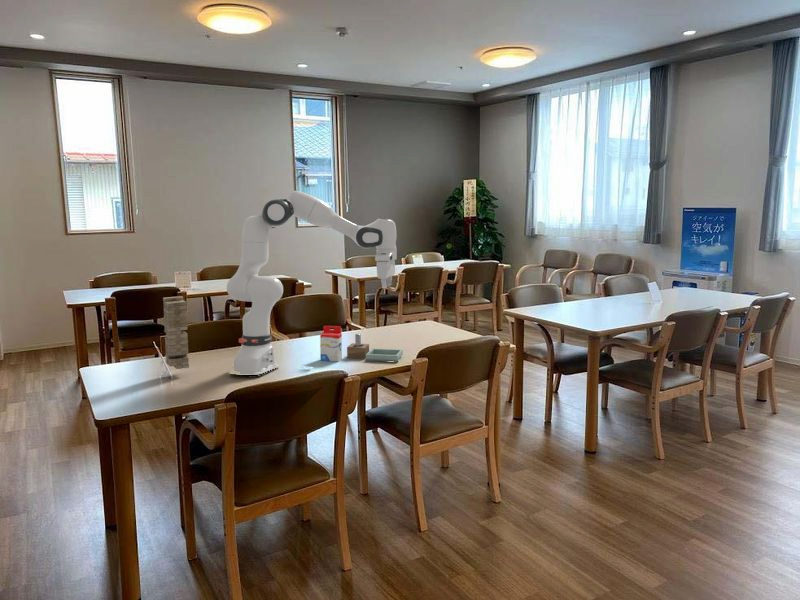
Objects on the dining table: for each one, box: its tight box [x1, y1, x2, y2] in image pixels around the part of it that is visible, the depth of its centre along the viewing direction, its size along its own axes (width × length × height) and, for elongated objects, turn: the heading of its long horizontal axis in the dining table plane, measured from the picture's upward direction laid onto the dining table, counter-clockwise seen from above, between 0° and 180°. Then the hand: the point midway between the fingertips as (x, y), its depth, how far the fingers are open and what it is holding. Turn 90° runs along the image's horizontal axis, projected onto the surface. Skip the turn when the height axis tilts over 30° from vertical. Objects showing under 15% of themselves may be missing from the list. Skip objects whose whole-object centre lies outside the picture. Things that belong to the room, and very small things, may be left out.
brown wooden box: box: [346, 343, 370, 360], centre depth 269 cm, size 8×8×5 cm
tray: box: [365, 348, 404, 363], centre depth 265 cm, size 12×14×3 cm
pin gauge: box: [354, 333, 362, 347], centre depth 269 cm, size 2×2×10 cm
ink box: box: [319, 325, 343, 362], centre depth 263 cm, size 8×5×15 cm, turn 79°
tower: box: [162, 295, 190, 370], centre depth 250 cm, size 8×8×29 cm
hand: (386, 287), depth 266 cm, fingers open, 8 cm apart
